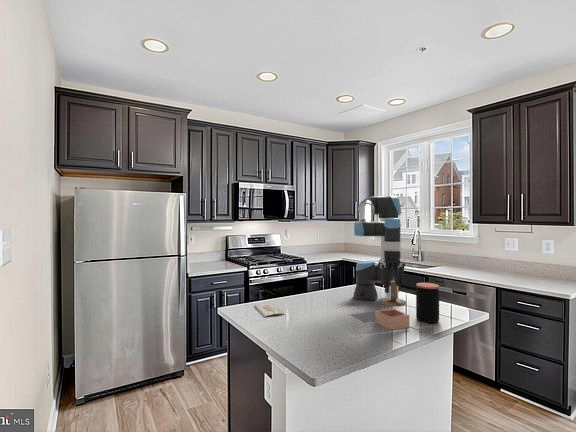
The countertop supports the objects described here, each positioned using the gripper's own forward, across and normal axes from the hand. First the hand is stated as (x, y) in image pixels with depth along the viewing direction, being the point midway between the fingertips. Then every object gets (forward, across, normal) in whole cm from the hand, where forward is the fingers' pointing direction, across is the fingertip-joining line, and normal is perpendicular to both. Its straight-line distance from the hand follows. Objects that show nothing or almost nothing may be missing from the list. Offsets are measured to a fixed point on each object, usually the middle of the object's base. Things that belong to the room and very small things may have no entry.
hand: (392, 299), depth 160 cm
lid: (+2, 0, 0) cm, 2 cm away
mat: (+12, +4, -14) cm, 19 cm away
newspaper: (+13, +48, -44) cm, 67 cm away
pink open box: (+13, 0, 0) cm, 13 cm away
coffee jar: (+13, -21, 0) cm, 25 cm away
